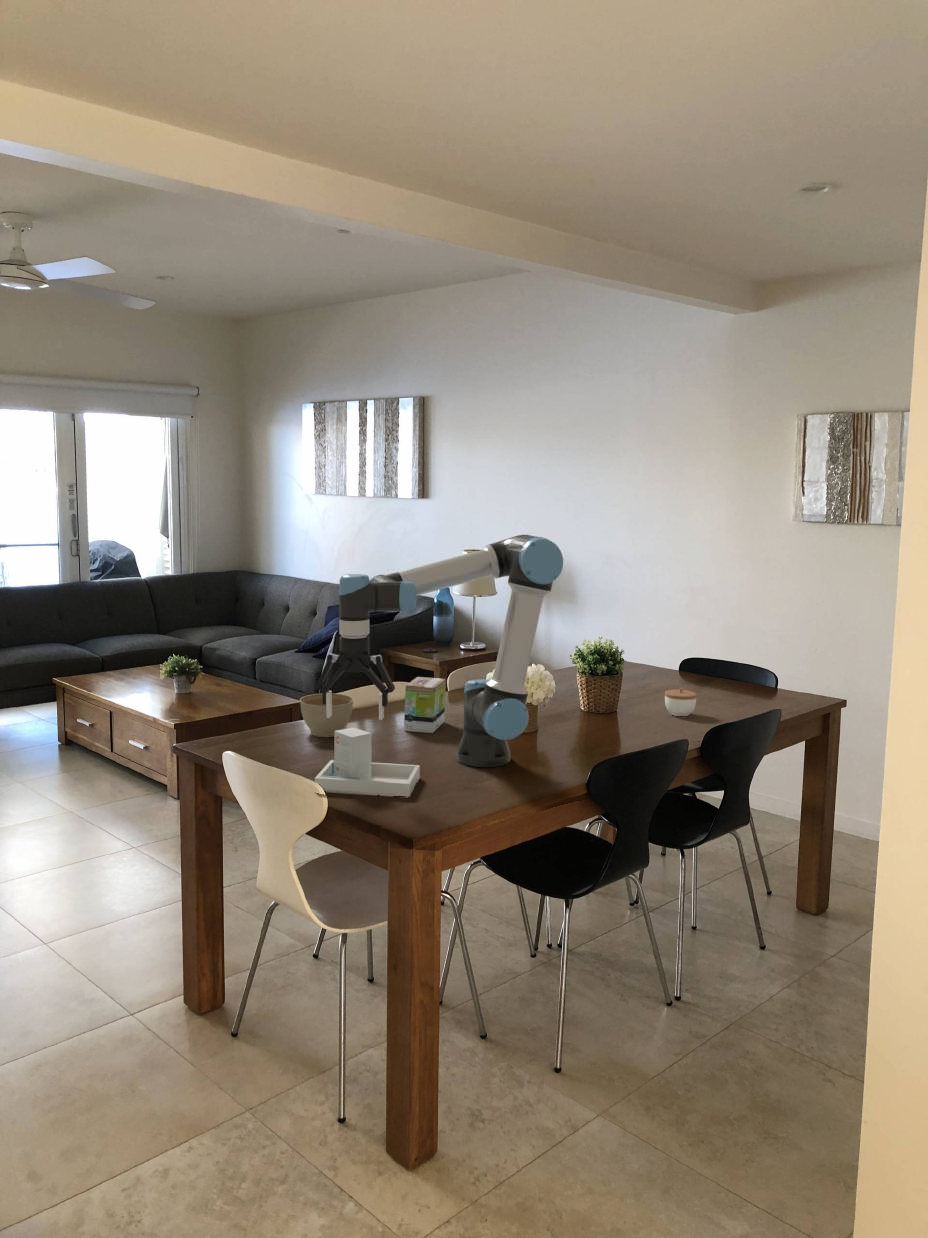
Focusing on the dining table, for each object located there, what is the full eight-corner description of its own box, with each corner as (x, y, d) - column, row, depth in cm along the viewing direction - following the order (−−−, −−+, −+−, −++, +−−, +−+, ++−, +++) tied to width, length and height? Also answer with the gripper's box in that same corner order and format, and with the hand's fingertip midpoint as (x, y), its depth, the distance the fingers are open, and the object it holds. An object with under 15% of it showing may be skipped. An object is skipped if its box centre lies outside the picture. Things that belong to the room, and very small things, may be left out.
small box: (372, 782, 253) (372, 733, 251) (352, 787, 249) (352, 737, 247) (353, 775, 259) (353, 726, 257) (333, 779, 255) (333, 730, 253)
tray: (419, 778, 260) (419, 765, 259) (409, 797, 244) (409, 784, 244) (330, 772, 263) (330, 760, 262) (314, 791, 247) (314, 778, 246)
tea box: (434, 734, 305) (435, 687, 302) (403, 731, 306) (403, 685, 304) (445, 722, 319) (446, 677, 317) (415, 720, 321) (415, 675, 319)
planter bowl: (289, 732, 301) (289, 698, 300) (331, 724, 312) (332, 691, 311) (320, 744, 290) (320, 708, 288) (363, 734, 301) (364, 700, 300)
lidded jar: (701, 717, 334) (703, 690, 333) (675, 719, 330) (676, 692, 329) (683, 710, 344) (685, 684, 342) (657, 712, 340) (659, 685, 339)
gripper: (405, 634, 250) (405, 715, 254) (310, 631, 253) (311, 712, 256) (400, 639, 243) (400, 723, 246) (302, 636, 246) (303, 719, 249)
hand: (355, 717), depth 251 cm, fingers open, 13 cm apart
